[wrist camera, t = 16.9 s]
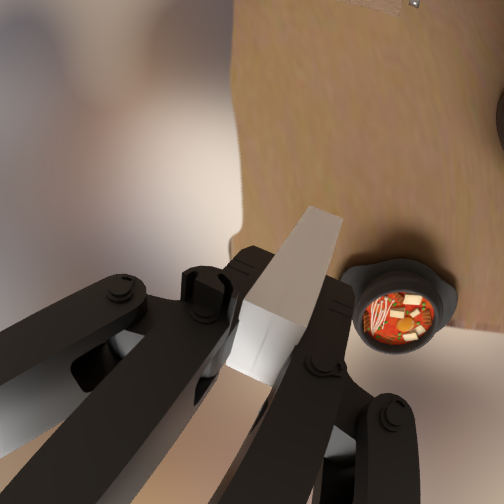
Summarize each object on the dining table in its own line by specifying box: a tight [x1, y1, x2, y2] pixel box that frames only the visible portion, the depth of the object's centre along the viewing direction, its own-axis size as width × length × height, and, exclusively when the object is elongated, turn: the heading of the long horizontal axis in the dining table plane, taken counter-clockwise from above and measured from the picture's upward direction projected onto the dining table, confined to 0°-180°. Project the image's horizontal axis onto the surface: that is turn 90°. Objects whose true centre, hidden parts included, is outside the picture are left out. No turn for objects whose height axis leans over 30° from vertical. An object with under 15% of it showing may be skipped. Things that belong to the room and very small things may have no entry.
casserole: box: [339, 258, 458, 355], centre depth 44 cm, size 25×19×8 cm
